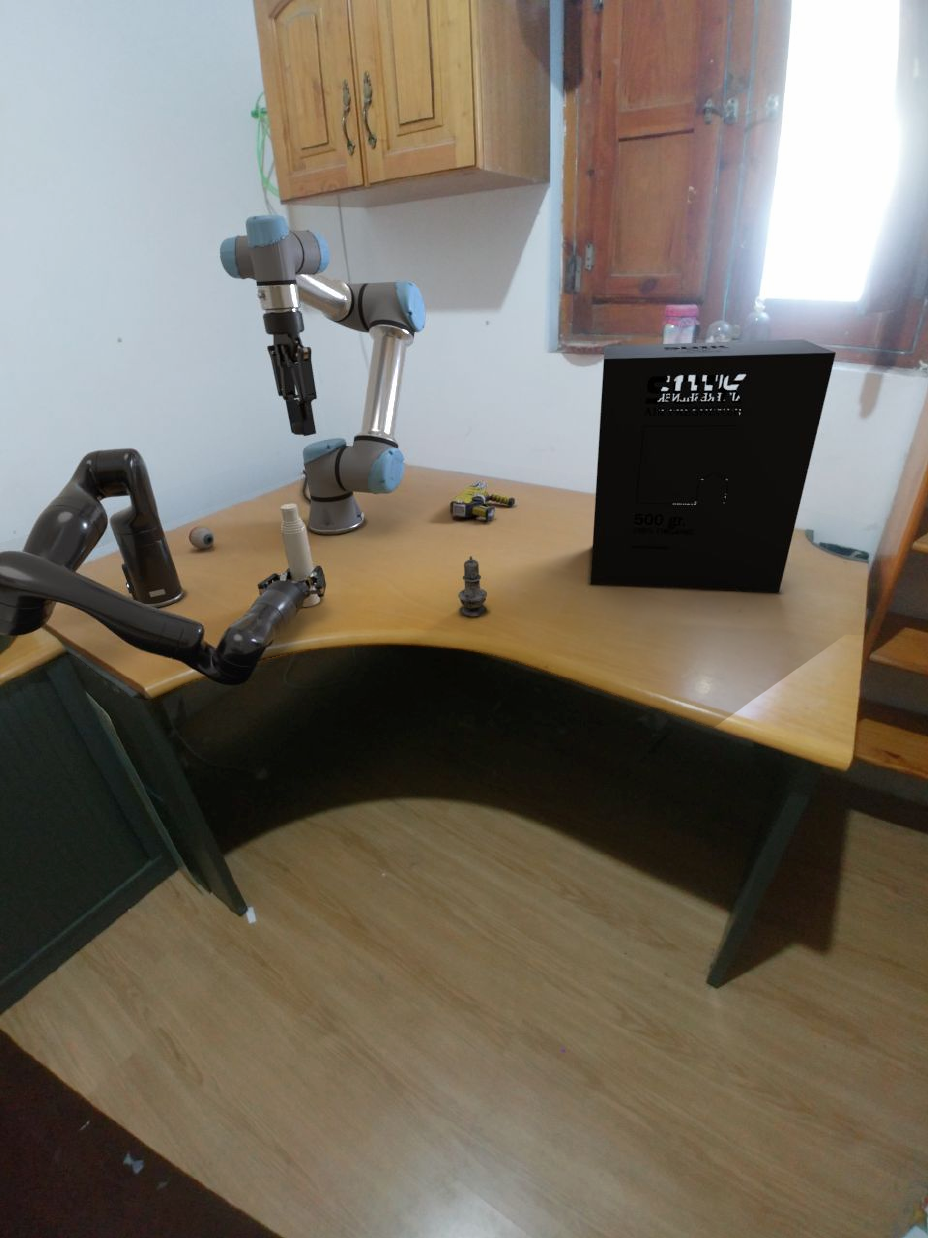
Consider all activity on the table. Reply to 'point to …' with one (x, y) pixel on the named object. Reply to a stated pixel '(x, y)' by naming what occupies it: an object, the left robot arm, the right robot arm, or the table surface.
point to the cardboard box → (704, 462)
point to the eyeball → (201, 537)
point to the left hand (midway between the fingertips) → (307, 569)
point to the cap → (297, 428)
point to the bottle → (297, 547)
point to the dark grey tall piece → (472, 590)
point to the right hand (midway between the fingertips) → (303, 432)
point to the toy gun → (477, 502)
